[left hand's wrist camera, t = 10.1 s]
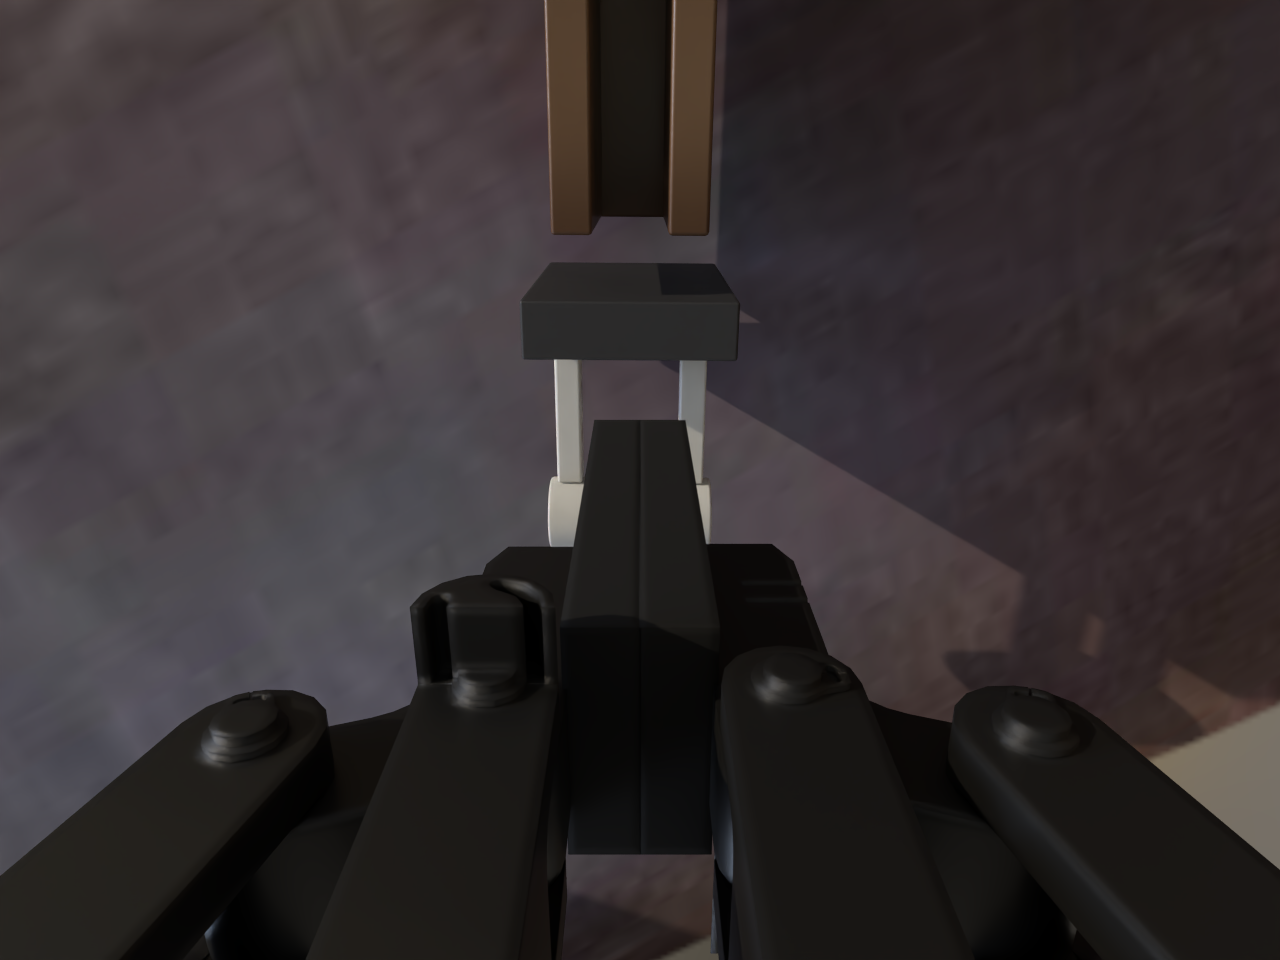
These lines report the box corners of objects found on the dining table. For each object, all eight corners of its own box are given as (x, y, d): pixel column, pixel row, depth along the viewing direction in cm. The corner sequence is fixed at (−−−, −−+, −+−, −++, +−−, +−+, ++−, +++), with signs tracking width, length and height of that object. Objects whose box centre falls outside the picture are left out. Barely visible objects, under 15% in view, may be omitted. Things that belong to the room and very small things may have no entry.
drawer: (706, 490, 25) (726, 591, 19) (556, 489, 25) (531, 590, 19) (750, -665, 16) (809, -1098, 11) (521, -668, 16) (458, -1103, 11)
